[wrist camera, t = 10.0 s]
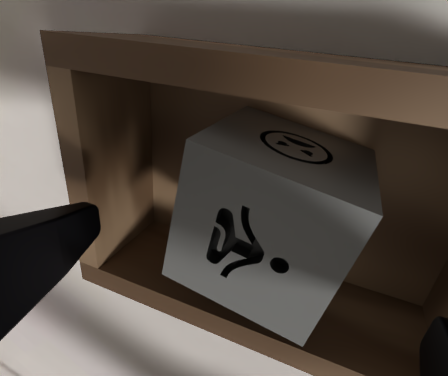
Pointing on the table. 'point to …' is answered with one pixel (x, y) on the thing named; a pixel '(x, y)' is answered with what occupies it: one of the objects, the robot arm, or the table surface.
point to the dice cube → (271, 218)
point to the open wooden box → (284, 108)
